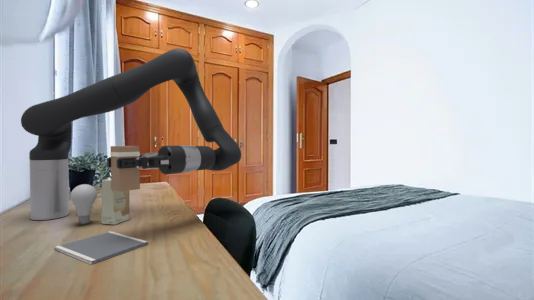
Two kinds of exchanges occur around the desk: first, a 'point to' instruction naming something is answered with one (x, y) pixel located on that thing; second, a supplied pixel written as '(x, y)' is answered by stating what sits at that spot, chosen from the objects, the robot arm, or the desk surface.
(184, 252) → the desk surface
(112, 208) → the skincare box
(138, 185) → the card box
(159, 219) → the desk surface
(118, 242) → the mat
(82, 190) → the lightbulb
